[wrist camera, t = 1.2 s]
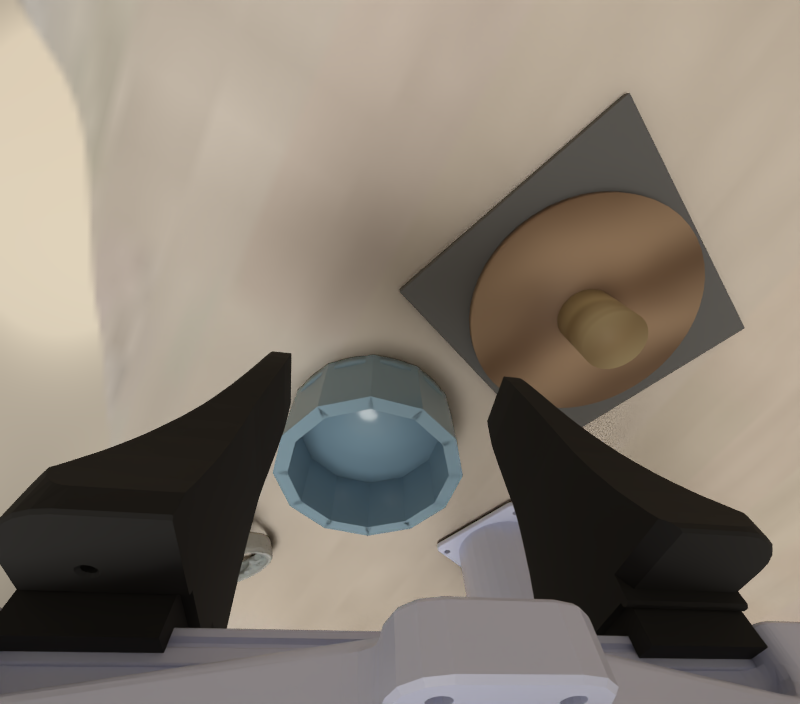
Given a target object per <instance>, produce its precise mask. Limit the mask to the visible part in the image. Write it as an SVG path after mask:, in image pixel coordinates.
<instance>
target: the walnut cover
mask: <svg viewBox="0 0 800 704" xmlns="http://www.w3.org/2000/svg"><path fill="white" fill-rule="evenodd" d="M704 282H705V264H704V259H703V254H702V249H701V247H700V244H699V242H698V239H697V237H696V235H695V234H694V232H693V230H692V229H691V227H690V226H689V224H688V223H687V222H686V221H685V220H684V219H683V218H682V217H681V216H680V215H679V214H678V213H676V212H675V211H674V210H673V209H671V208H670V207H668V206H666V205H665V204H663V203H661V202H659V201H657V200H654V199H651V198H647V197H644V196H641V195H636V194H631V193H624V192H616V191H605V192H593V193H586V194H581V195H577V196H574V197H570V198H567V199H564V200H562V201H559V202H557V203H555V204H552V205H550V206H548V207H546V208H544V209H543V210H541V211H539V212H537V213H536V214H534V215H532V216H531V217H530V218H528V219H527V220H526V221H524V222H523V223H522V224H520V225H519V226H518V227H517V228H516V229H514V230H513V231H512V232H511V233H510V234H509V235H508V236H507V237H506V238H505V239H504V240H503V241H502V243H501V244H500V245H499V246H498V247H497V248H496V250H495V251H494V252H493V254H492V255H491V257H490V258H489V260H488V261H487V263H486V264H485V266H484V268H483V270H482V272H481V274H480V276H479V278H478V281H477V283H476V286H475V289H474V292H473V296H472V300H471V305H470V314H469V328H470V336H471V341H472V345H473V348H474V351H475V353H476V356H477V358H478V361H479V363H480V364H481V366H482V368H483V370H484V371H485V373H486V374H487V375H488V377H489V378H490V379H491V380H492V382H493V383H495V384H496V385H497V386H498V387H499V388H500V385H501V382H502V379H503V377H504V376H505V377H515V378H521V379H522V380H524V381H525V382H527V383H528V384H529V385H530V386H532V387H533V388H534V389H535V390H537V391H538V392H539V393H540V394H541V395H543V396H544V397H545V398H546V399H547V400H549V401H550V402H551V403H552V404H553V405H555V406H556V407H557V408H571V407H578V406H584V405H589V404H593V403H597V402H600V401H603V400H606V399H609V398H611V397H613V396H616V395H618V394H620V393H622V392H624V391H626V390H628V389H630V388H631V387H633V386H635V385H636V384H638V383H639V382H641V381H642V380H644V379H645V378H647V377H648V376H649V375H650V374H652V373H653V372H654V371H655V370H657V369H658V368H659V367H660V366H661V365H662V364H663V363H664V362H665V361H666V360H667V359H668V358H669V357H670V356H671V355H672V353H673V352H674V351H675V350H676V349H677V347H678V346H679V345H680V343H681V342H682V340H683V339H684V337H685V336H686V335H687V333H688V331H689V329H690V327H691V325H692V324H693V322H694V320H695V317H696V315H697V312H698V310H699V307H700V303H701V299H702V296H703V291H704Z"/></svg>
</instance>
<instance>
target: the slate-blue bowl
mask: <svg viewBox="0 0 800 704" xmlns="http://www.w3.org/2000/svg"><path fill="white" fill-rule="evenodd" d="M273 474H274V476H275V478H276V480H277V482H278V484H279V486H280V488H281V490H282V492H283V493H284V495H285V497H286V499H287V501H288V503H289V505H290V506H291V507H292V508H294V509H296V510H297V511H299V512H300V513H302V514H304V515H305V516H307V517H308V518H310V519H311V520H313V521H315V522H316V523H318V524H319V525H321V526H322V527H324V528H328V529H334V530H339V531H345V532H350V533H356V534H362V535H367V536H368V535H374V534H380V533H386V532H392V531H398V530H404V529H410V528H412V527H414V526H416V525H417V524H419V523H420V522H422V521H424V520H425V519H427V518H429V517H430V516H432V515H434V514H435V513H437V512H438V511H440V510H442V509H443V508H445V507H446V505H447V503H448V501H449V500H450V498H451V496H452V494H453V492H454V491H455V489H456V487H457V485H458V483H459V481H460V480H461V478H462V476H463V474H462V469H461V463H460V458H459V452H458V447H457V441H456V436H455V432H454V428H453V424H452V417H451V413H450V409H449V405H448V402H447V399H446V395H445V393H444V392H443V391H442V390H441V389H440V387H439V386H438V385H437V384H436V383H435V381H434V380H433V379H432V378H430V377H429V376H428V375H427V374H426V373H424V372H423V371H421V370H420V369H419V368H418V367H417V366H414V365H411V364H408V363H406V362H403V361H400V360H397V359H393V358H388V357H381V356H377V355H368V356H359V357H352V358H347V359H344V360H340V361H337V362H334V363H329V364H327V365H326V366H325V367H324V368H322V369H321V370H319V371H318V372H316V373H315V374H314V375H312V376H311V377H310V378H309V379H308V380H307V381H306V382H305V383H304V385H303V386H302V387H301V388H299V389H298V391H297V394H296V397H295V399H294V402H293V405H292V408H291V411H290V413H289V416H288V419H287V422H286V425H285V429H284V432H283V435H282V437H281V440H280V444H279V449H278V453H277V457H276V461H275V466H274V470H273Z"/></svg>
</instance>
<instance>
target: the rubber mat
mask: <svg viewBox="0 0 800 704" xmlns="http://www.w3.org/2000/svg"><path fill="white" fill-rule="evenodd" d="M605 191H616V192H624V193H631V194H636V195H641V196H644V197H647V198H651V199H654V200H657V201H659V202H661V203H663V204H665V205H666V206H668V207H670V208H671V209H673V210H674V211H675V212H676V213H678V214H679V215H680V216H681V217H682V218H683V219H684V220H685V221H686V222H687V223H688V224H689V226H690V227H691V229H692V230H693V232H694V234H695V235H696V237H697V239H698V242H699V244H700V247H701V249H702V254H703V259H704V264H705V282H704V291H703V296H702V299H701V303H700V307H699V310H698V312H697V315H696V317H695V320H694V322H693V324H692V325H691V327H690V329H689V331H688V333H687V335H686V336H685V337H684V339H683V340H682V342H681V343H680V345H679V346H678V347H677V349H676V350H675V351H674V352H673V353H672V355H671V356H670V357H669V358H668V359H667V360H666V361H665V362H664V363H663V364H662V365H661V366H660V367H659V368H658V369H657V370H655V371H654V372H653V373H652V374H650V375H649V376H648V377H647V378H645V379H644V380H642V381H641V382H639V383H638V384H636V385H635V386H633V387H631V388H630V389H628V390H626V391H624V392H622V393H620V394H618V395H616V396H613V397H611V398H609V399H606V400H603V401H600V402H597V403H593V404H589V405H584V406H578V407H571V408H558V409H559V410H561V411H562V412H563V413H564V414H566V415H567V416H568V417H569V418H571V419H572V420H573V421H574V422H576V423H577V424H578V425H580V426H581V427H583V426H585V425H586V424H588V423H590V422H591V421H593V420H594V419H596V418H598V417H599V416H601V415H603V414H604V413H606V412H608V411H609V410H611V409H613V408H614V407H616V406H617V405H619V404H621V403H622V402H624V401H626V400H627V399H629V398H631V397H632V396H634V395H636V394H637V393H639V392H640V391H642V390H644V389H645V388H647V387H649V386H650V385H652V384H654V383H655V382H657V381H659V380H660V379H662V378H664V377H665V376H667V375H668V374H670V373H672V372H673V371H675V370H677V369H678V368H680V367H682V366H683V365H685V364H687V363H688V362H690V361H691V360H693V359H695V358H696V357H698V356H700V355H701V354H703V353H705V352H706V351H708V350H710V349H711V348H713V347H714V346H716V345H718V344H719V343H721V342H723V341H724V340H726V339H728V338H729V337H731V336H733V335H734V334H736V333H737V332H739V331H741V330H742V329H744V326H743V324H742V322H741V320H740V317H739V315H738V313H737V311H736V309H735V307H734V305H733V303H732V301H731V299H730V297H729V295H728V293H727V291H726V289H725V287H724V285H723V283H722V281H721V279H720V277H719V275H718V273H717V271H716V268H715V266H714V264H713V262H712V260H711V258H710V256H709V254H708V252H707V250H706V248H705V246H704V244H703V242H702V240H701V238H700V236H699V234H698V232H697V230H696V228H695V226H694V224H693V222H692V219H691V217H690V215H689V213H688V211H687V209H686V207H685V205H684V203H683V201H682V199H681V197H680V195H679V193H678V191H677V189H676V187H675V185H674V183H673V181H672V179H671V177H670V175H669V173H668V170H667V168H666V166H665V164H664V162H663V160H662V158H661V156H660V154H659V152H658V150H657V148H656V146H655V144H654V142H653V140H652V138H651V136H650V134H649V132H648V130H647V128H646V126H645V124H644V122H643V119H642V117H641V115H640V113H639V111H638V109H637V107H636V105H635V103H634V101H633V99H632V97H631V95H630V93H627V94H624V95H623V96H622V97H620V98H619V99H618V100H617V101H616V102H615V103H614V104H612V105H611V106H610V107H609V108H608V109H607V110H606V111H604V112H603V113H602V114H601V115H600V116H599V117H597V118H596V119H595V120H594V121H593V122H592V123H591V124H589V125H588V126H587V127H586V128H585V129H584V130H583V131H581V132H580V133H579V134H578V135H577V136H576V137H574V138H573V139H572V140H571V141H570V142H569V143H568V144H566V145H565V146H564V147H563V148H562V149H561V150H560V151H558V152H557V153H556V154H555V155H554V156H553V157H551V158H550V159H549V160H548V161H547V162H546V163H545V164H543V165H542V166H541V167H540V168H539V169H538V170H537V171H535V172H534V173H533V174H532V175H531V176H530V177H528V178H527V179H526V180H525V181H524V182H523V183H522V184H520V185H519V186H518V187H517V188H516V189H515V190H514V191H512V192H511V193H510V194H509V195H508V196H507V197H505V198H504V199H503V200H502V201H501V202H500V203H499V204H497V205H496V206H495V207H494V208H493V209H492V210H491V211H489V212H488V213H487V214H486V215H485V216H484V217H482V218H481V219H480V220H479V221H478V222H477V223H476V224H474V225H473V226H472V227H471V228H470V229H469V230H467V231H466V232H465V233H464V234H463V235H462V236H461V237H459V238H458V239H457V240H456V241H455V242H454V243H453V244H451V245H450V246H449V247H448V248H447V249H446V250H444V251H443V252H442V253H441V254H440V255H439V256H438V257H436V258H435V259H434V260H433V261H432V262H431V263H430V264H428V265H427V266H426V267H425V268H424V269H423V270H421V271H420V272H419V273H418V274H417V275H416V276H415V277H413V278H412V279H411V280H410V281H409V282H408V283H407V284H405V285H404V286H403V287H402V288H401V289H400V292H401V294H402V295H403V296H404V297H405V298H406V299H407V300H408V301H409V302H410V303H411V304H412V305H413V306H414V307H415V308H416V309H417V310H418V311H419V312H420V314H421V315H422V316H423V317H424V318H425V319H426V320H427V321H428V322H429V323H430V324H431V325H432V326H433V327H434V328H435V329H436V330H437V331H438V333H439V334H440V335H441V336H442V337H443V338H444V339H445V340H446V341H447V342H448V343H449V344H450V345H451V346H452V347H453V348H454V349H455V350H456V351H457V353H458V354H459V355H460V356H461V357H462V358H463V359H464V360H465V361H466V362H467V363H468V364H469V365H470V366H471V367H472V368H473V369H474V370H475V372H476V373H477V374H478V375H479V376H480V377H481V378H482V379H483V380H484V381H485V382H486V383H487V384H488V385H489V386H490V387H491V388H492V389H493V390H494V392H495V393H496V394H497V393H498V391H499V387H498V386H497V385H496V384H495V383H493V382H492V380H491V379H490V378H489V377H488V375H487V374H486V373H485V371H484V370H483V368H482V366H481V364H480V363H479V361H478V358H477V356H476V353H475V351H474V348H473V345H472V341H471V336H470V328H469V314H470V305H471V300H472V296H473V292H474V289H475V286H476V283H477V281H478V278H479V276H480V274H481V272H482V270H483V268H484V266H485V264H486V263H487V261H488V260H489V258H490V257H491V255H492V254H493V252H494V251H495V250H496V248H497V247H498V246H499V245H500V244H501V243H502V241H503V240H504V239H505V238H506V237H507V236H508V235H509V234H510V233H511V232H512V231H513V230H514V229H516V228H517V227H518V226H519V225H520V224H522V223H523V222H524V221H526V220H527V219H528V218H530V217H531V216H532V215H534V214H536V213H537V212H539V211H541V210H543V209H544V208H546V207H548V206H550V205H552V204H555V203H557V202H559V201H562V200H564V199H567V198H570V197H574V196H577V195H581V194H586V193H593V192H605Z"/></svg>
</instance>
